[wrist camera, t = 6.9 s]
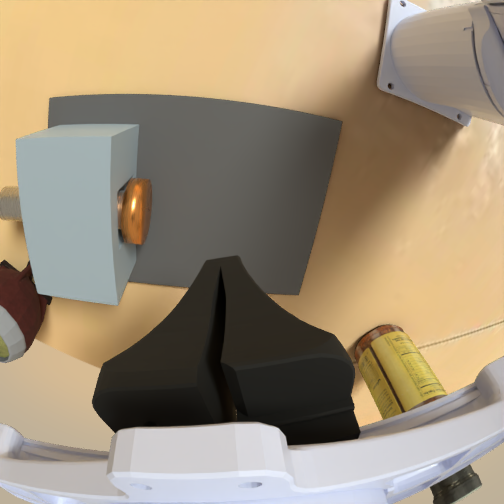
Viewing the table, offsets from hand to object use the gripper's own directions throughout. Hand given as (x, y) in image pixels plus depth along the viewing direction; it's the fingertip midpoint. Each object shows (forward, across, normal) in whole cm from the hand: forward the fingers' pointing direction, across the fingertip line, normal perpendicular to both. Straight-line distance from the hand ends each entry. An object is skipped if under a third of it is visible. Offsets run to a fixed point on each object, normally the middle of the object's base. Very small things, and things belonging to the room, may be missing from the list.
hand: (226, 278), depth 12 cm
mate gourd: (+10, +20, +4) cm, 23 cm away
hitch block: (+10, +9, -2) cm, 13 cm away
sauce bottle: (+10, -14, +18) cm, 25 cm away
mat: (+10, +3, 0) cm, 10 cm away
